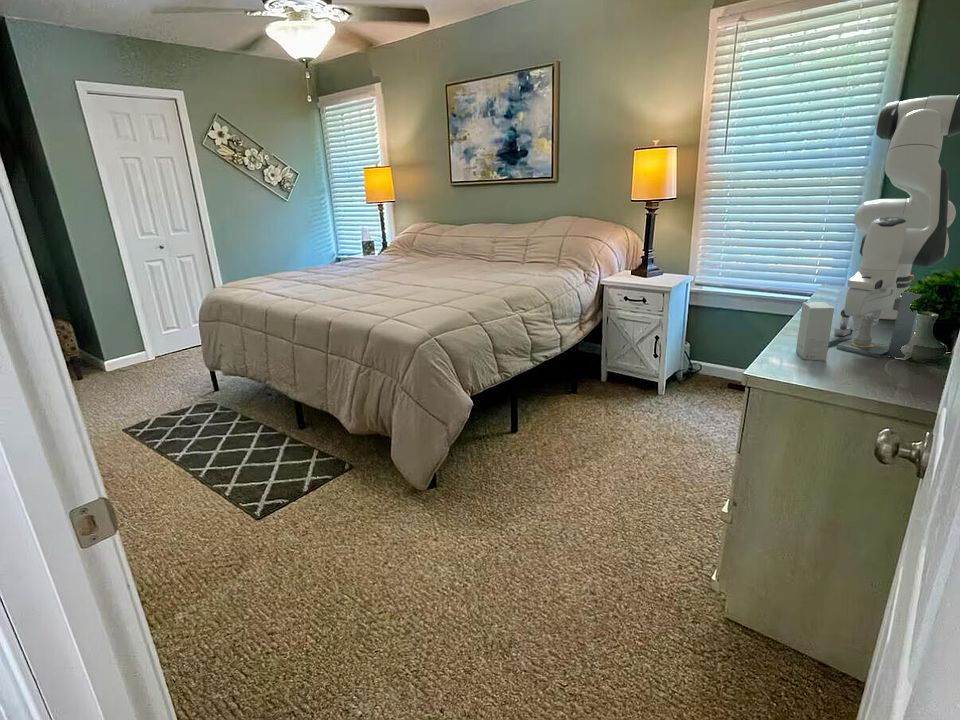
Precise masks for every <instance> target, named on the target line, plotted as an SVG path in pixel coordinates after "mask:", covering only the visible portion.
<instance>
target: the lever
mask: <svg viewBox="0 0 960 720" xmlns="http://www.w3.org/2000/svg"><path fill="white" fill-rule="evenodd" d="M840 316H841V320H840V325H839V326H838V327H835V328H834V332H833V335H834V334H837V335H841V336H844V335H847V334H850V332H851V329H852V327H848V325H849V320H850V318H851V316H848V315H846V314H845V312H844V309H842V310H841V311H840Z"/></svg>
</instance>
